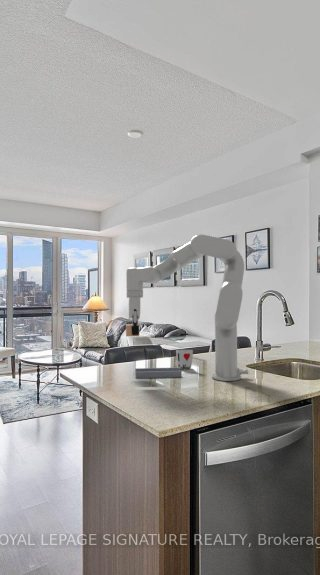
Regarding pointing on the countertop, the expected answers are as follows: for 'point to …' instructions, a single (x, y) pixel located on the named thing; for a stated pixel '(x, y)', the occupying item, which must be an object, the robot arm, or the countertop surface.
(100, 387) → the countertop surface
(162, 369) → the grey railed tray
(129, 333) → the block
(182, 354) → the cup
